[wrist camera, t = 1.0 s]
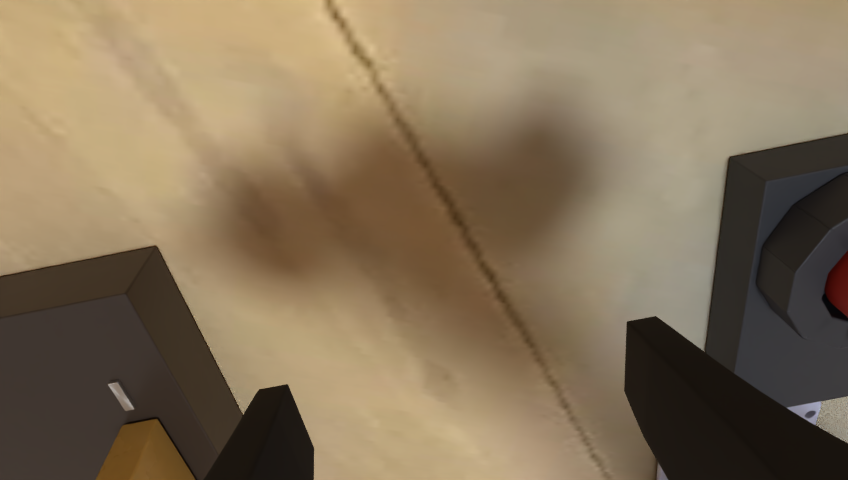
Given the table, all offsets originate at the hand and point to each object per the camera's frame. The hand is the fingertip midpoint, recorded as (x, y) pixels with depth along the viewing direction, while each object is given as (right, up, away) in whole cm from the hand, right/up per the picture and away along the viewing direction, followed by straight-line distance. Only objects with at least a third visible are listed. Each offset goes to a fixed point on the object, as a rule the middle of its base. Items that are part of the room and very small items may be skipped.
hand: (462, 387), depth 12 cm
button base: (+15, +2, +12) cm, 19 cm away
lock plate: (-14, -3, +12) cm, 19 cm away
